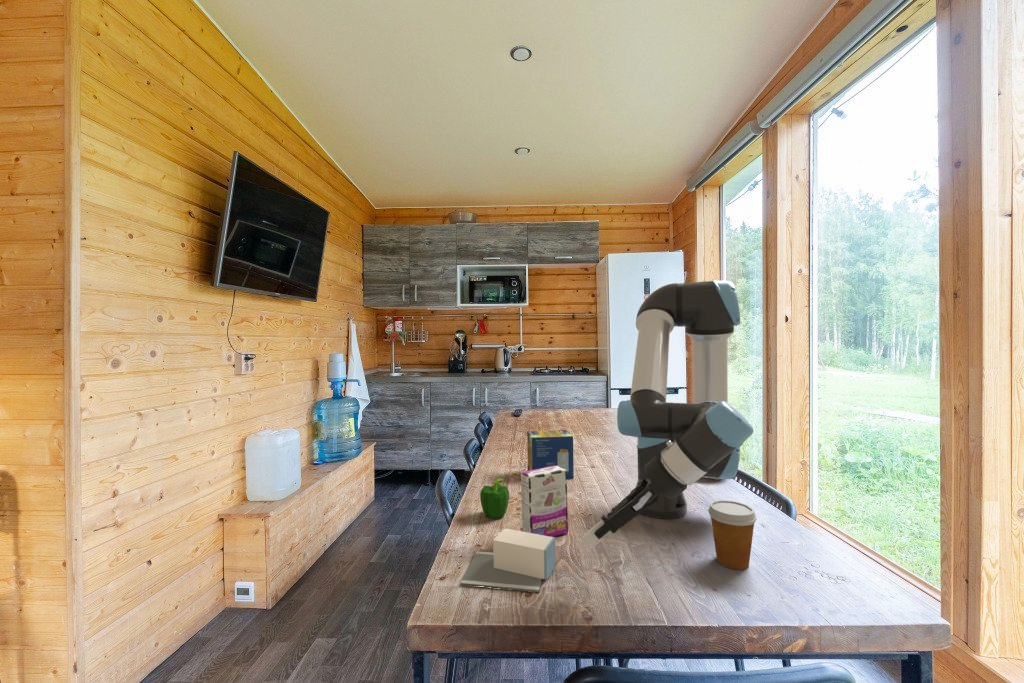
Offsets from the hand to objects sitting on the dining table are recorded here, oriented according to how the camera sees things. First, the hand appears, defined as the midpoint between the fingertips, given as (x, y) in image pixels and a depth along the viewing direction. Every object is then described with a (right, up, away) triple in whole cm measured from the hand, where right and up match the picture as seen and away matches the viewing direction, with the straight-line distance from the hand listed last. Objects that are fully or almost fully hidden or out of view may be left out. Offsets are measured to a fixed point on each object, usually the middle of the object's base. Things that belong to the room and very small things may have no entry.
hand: (587, 542), depth 86 cm
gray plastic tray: (-16, -8, +5) cm, 19 cm away
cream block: (-7, -5, +3) cm, 9 cm away
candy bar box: (-7, -9, +22) cm, 24 cm away
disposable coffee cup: (+33, -8, +7) cm, 35 cm away
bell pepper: (-20, -9, +34) cm, 41 cm away
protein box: (-1, -9, +69) cm, 70 cm away
